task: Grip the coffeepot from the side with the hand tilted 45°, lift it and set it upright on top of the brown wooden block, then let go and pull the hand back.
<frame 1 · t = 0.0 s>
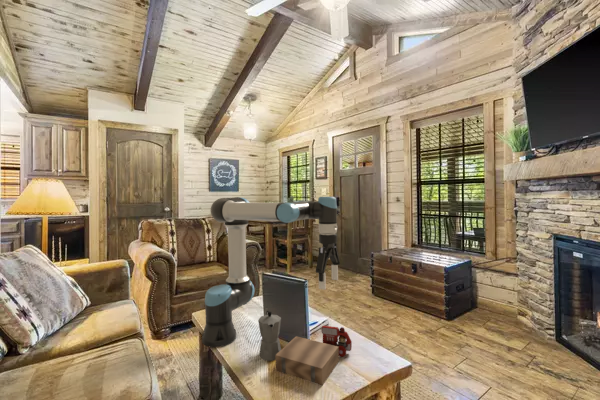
hand: (328, 284, 123), 28 cm above the table, tool pointing down, fingers open, 13 cm apart
brown wooden block: (307, 366, 113), on the table
coffeepot: (270, 354, 122), on the table
toy fire truck: (336, 352, 123), on the table
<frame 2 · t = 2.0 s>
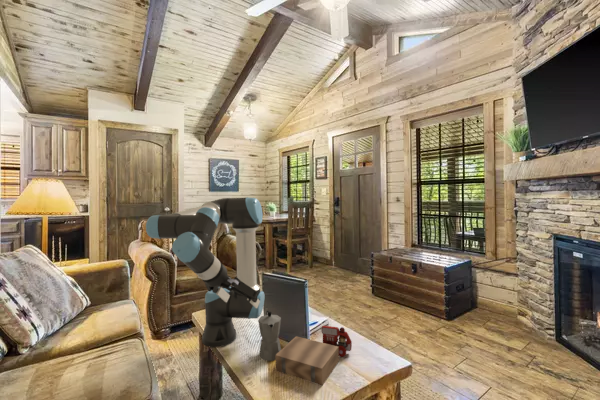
hand: (242, 301, 106), 28 cm above the table, tool tilted 45°, fingers open, 13 cm apart
nothing on the table moved.
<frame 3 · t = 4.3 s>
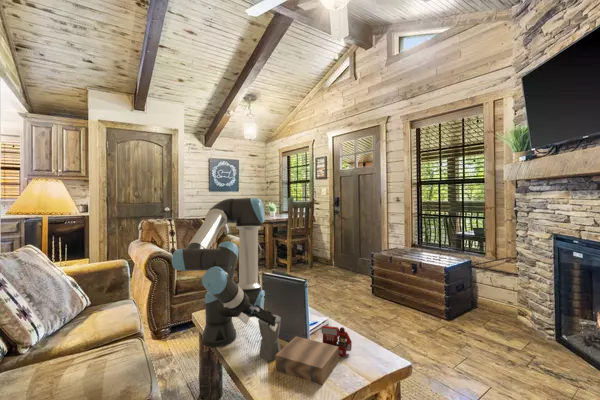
hand: (261, 324, 116), 15 cm above the table, tool tilted 45°, fingers open, 13 cm apart
nothing on the table moved.
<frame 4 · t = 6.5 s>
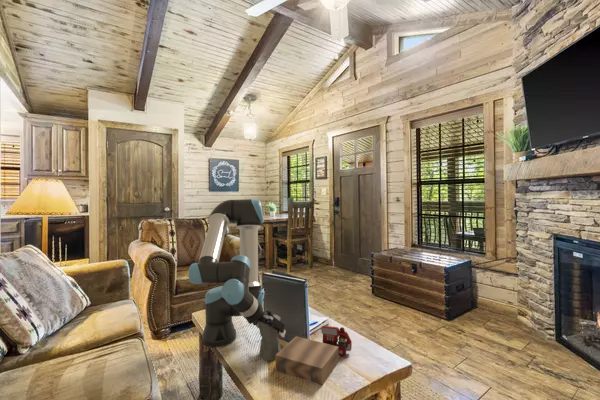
hand: (274, 331, 125), 8 cm above the table, tool tilted 45°, fingers closed on coffeepot, 9 cm apart
coffeepot: (270, 353, 122), on the table, touching gripper
everything else where it was.
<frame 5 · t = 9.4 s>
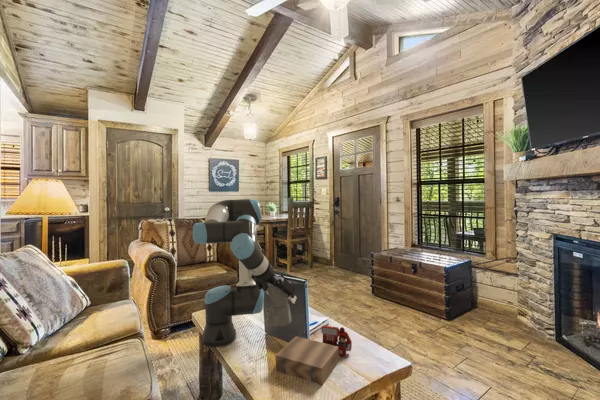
hand: (284, 298, 119), 24 cm above the table, tool tilted 45°, fingers closed on coffeepot, 9 cm apart
coffeepot: (279, 321, 117), point 16 cm above the table, touching gripper
everything else where it was.
when the fingers open (15 cm above the table, at t = 12.3 s): coffeepot drops 1 cm, resting on brown wooden block.
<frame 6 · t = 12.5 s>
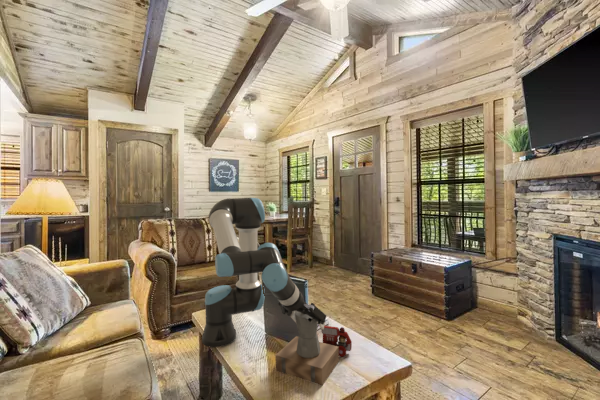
hand: (310, 323, 115), 16 cm above the table, tool tilted 45°, fingers open, 10 cm apart
coffeepot: (308, 350, 113), point 6 cm above the table, touching gripper, brown wooden block
everything else where it was.
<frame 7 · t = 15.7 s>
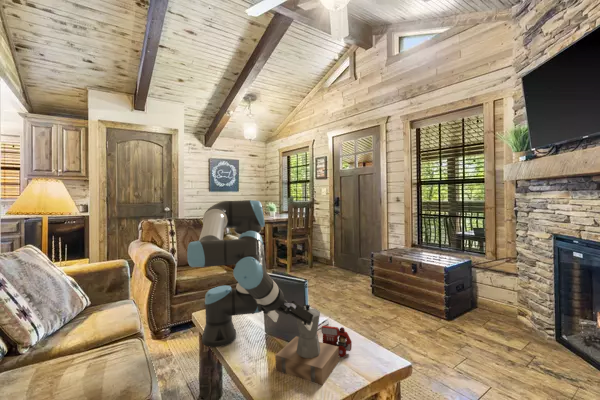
hand: (293, 322, 103), 21 cm above the table, tool tilted 45°, fingers open, 13 cm apart
coffeepot: (308, 350, 113), point 6 cm above the table, touching brown wooden block
everything else where it was.
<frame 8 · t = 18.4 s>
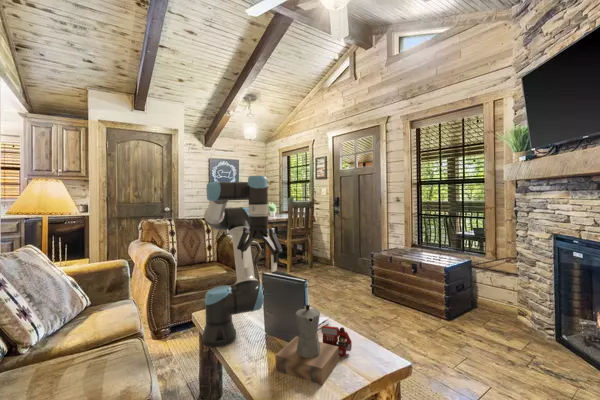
hand: (259, 269, 116), 37 cm above the table, tool pointing down, fingers open, 13 cm apart
nothing on the table moved.
at the end: coffeepot inside the target area on the brown wooden block (0.3 cm from its centre), point 5.8 cm above the brown wooden block's base; coffeepot tilted 0°; the gripper is holding nothing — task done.
